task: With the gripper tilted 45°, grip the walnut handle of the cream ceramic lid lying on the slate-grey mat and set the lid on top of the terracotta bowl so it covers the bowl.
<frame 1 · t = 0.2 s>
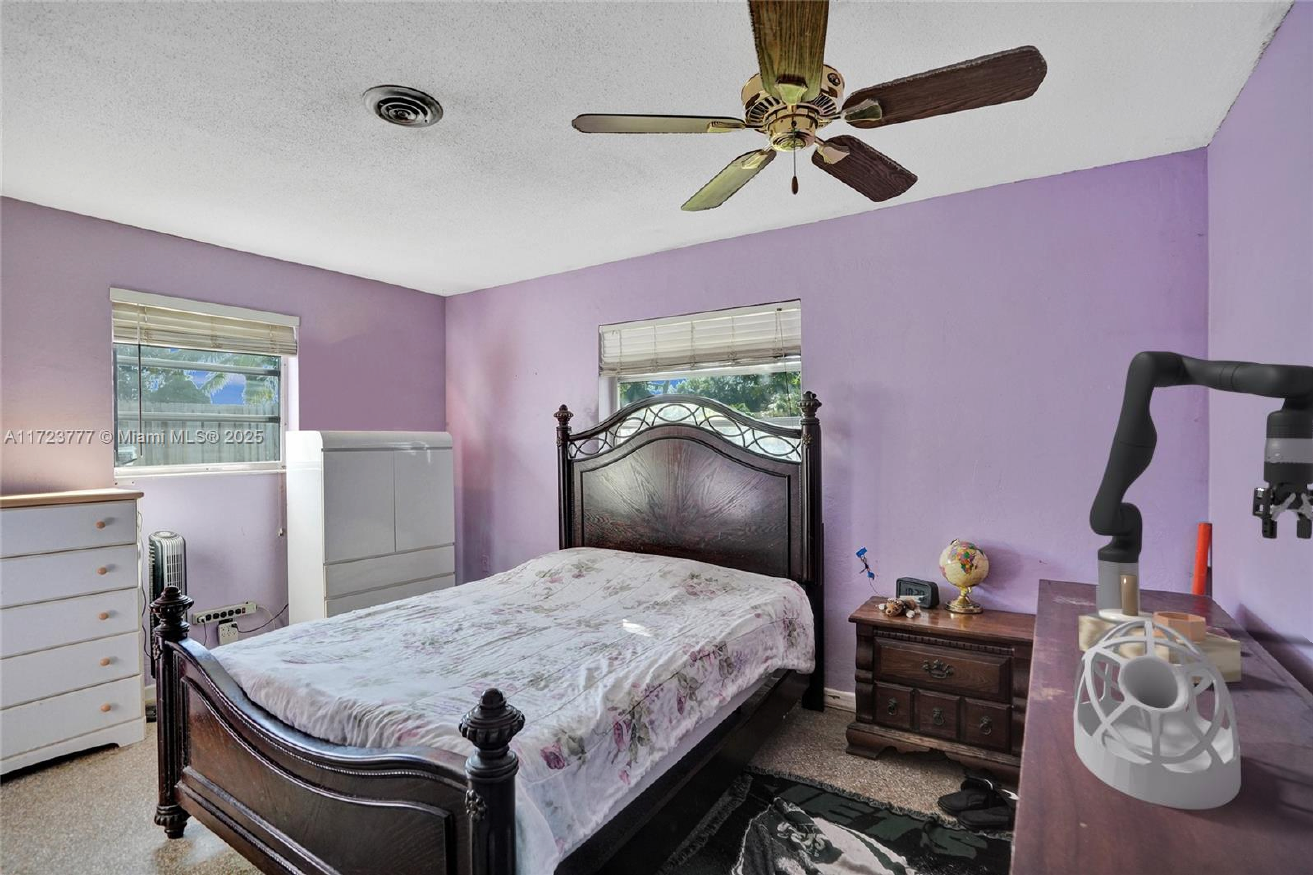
hand: (1286, 538, 135), 29 cm above the dresser, fingers open, 8 cm apart
lid: (1130, 619, 149), point 8 cm above the dresser, touching mat
mat: (1130, 620, 149), resting on riser
lampshade: (1153, 767, 95), on the dresser
bowl: (1179, 635, 136), resting on riser
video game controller: (1210, 653, 151), on the dresser
riser: (1154, 664, 142), on the dresser
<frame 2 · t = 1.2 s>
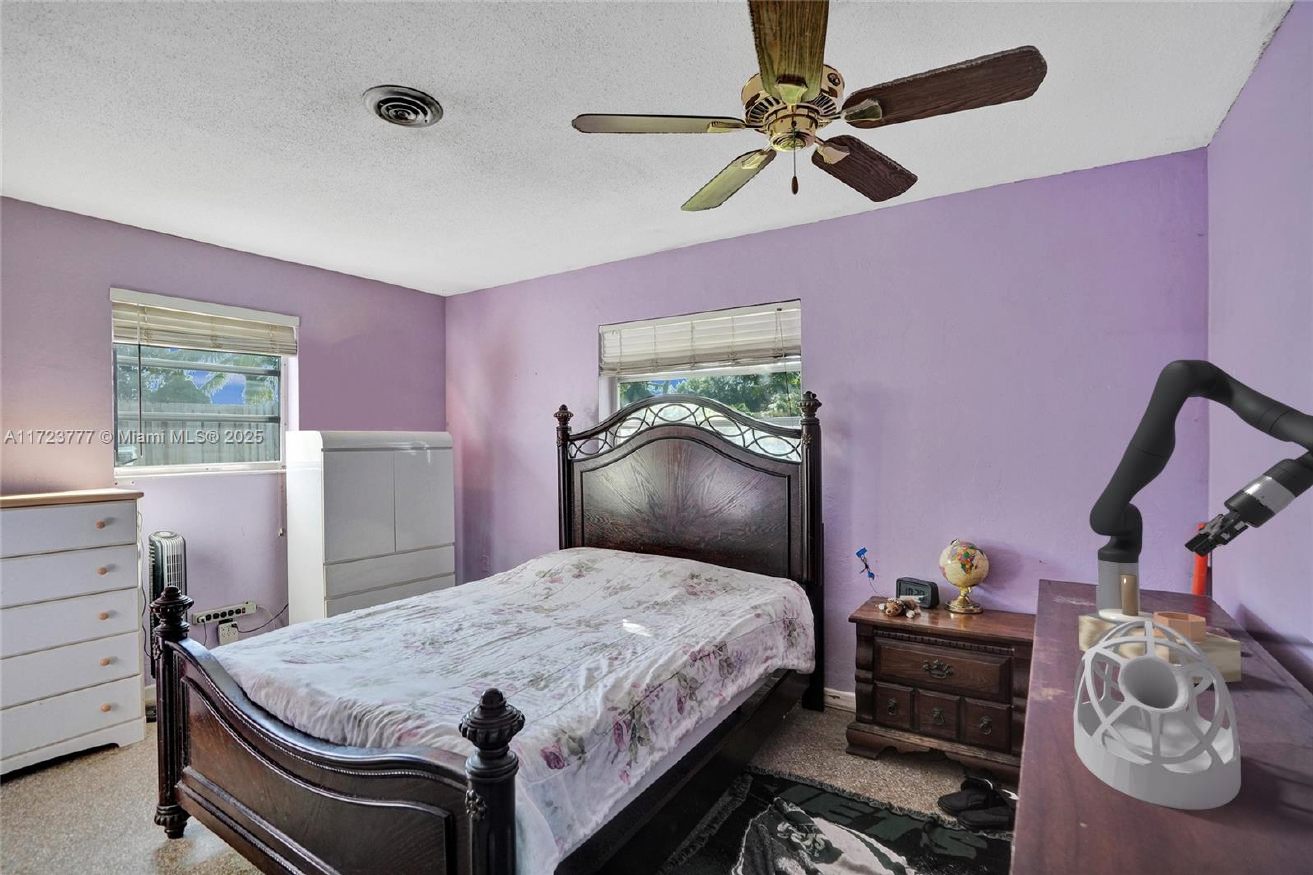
hand: (1192, 551, 144), 25 cm above the dresser, fingers open, 8 cm apart
nothing on the dresser moved.
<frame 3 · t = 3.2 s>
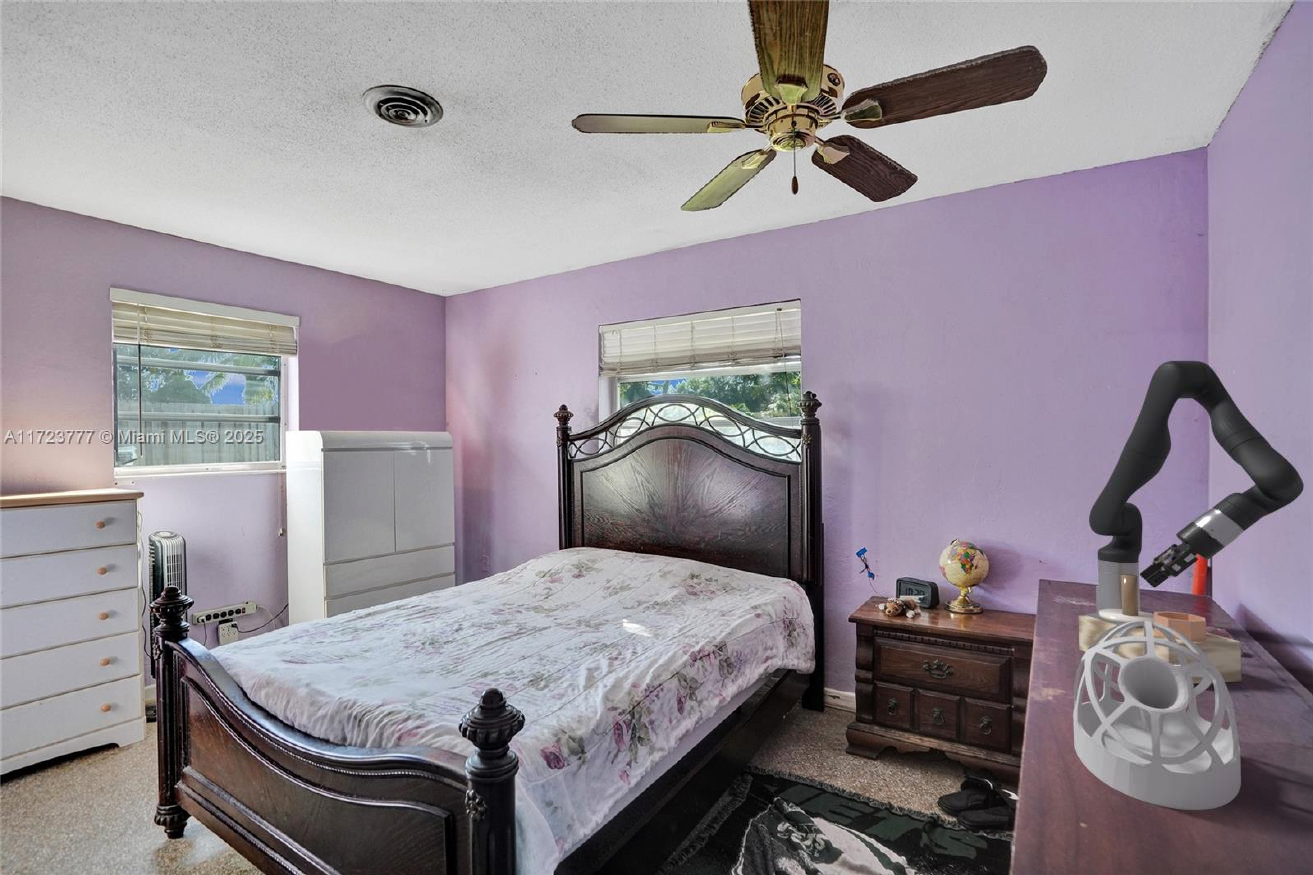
hand: (1146, 581, 147), 17 cm above the dresser, fingers open, 8 cm apart
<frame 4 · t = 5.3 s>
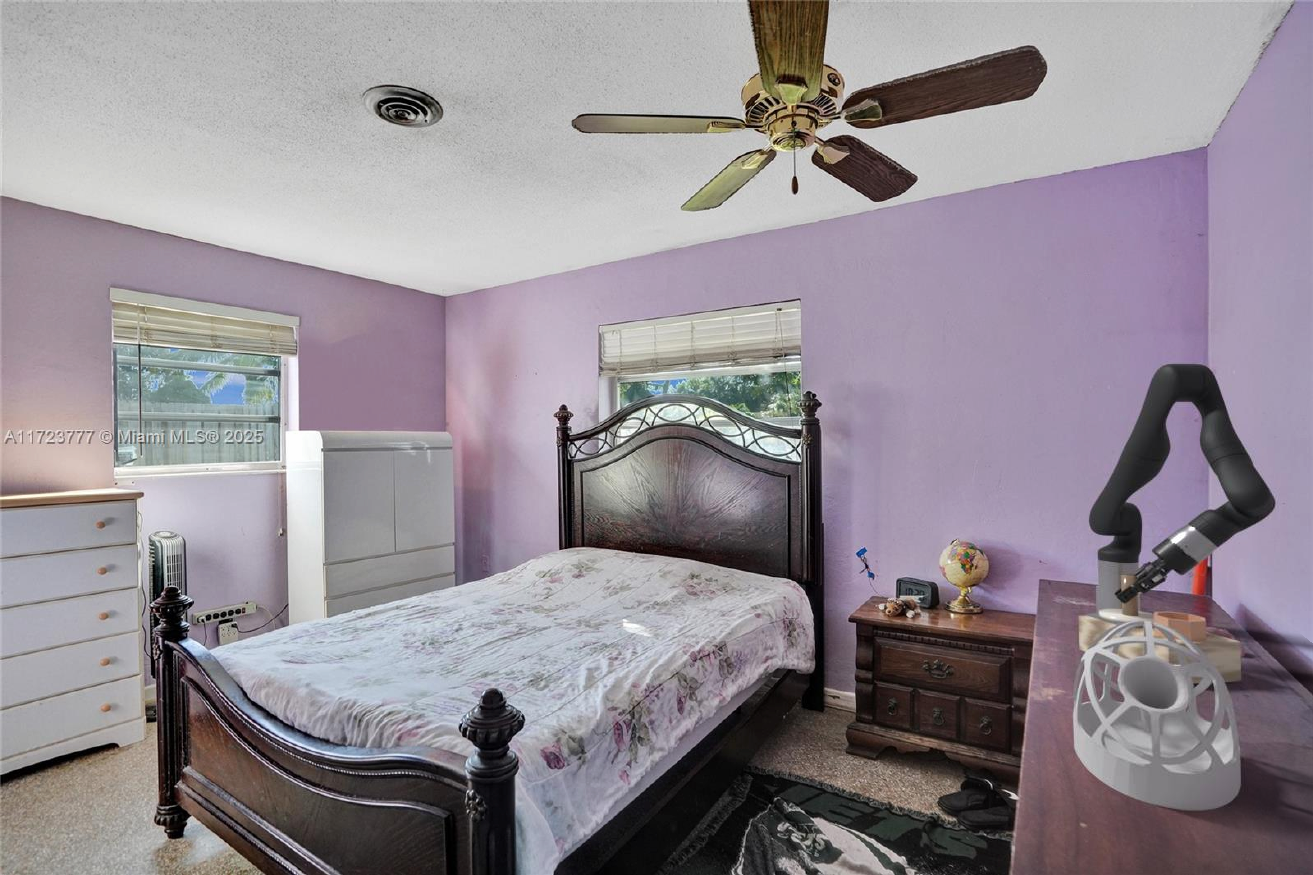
hand: (1119, 598, 150), 13 cm above the dresser, fingers closed on lid, 3 cm apart
lid: (1130, 619, 149), point 8 cm above the dresser, touching gripper, mat
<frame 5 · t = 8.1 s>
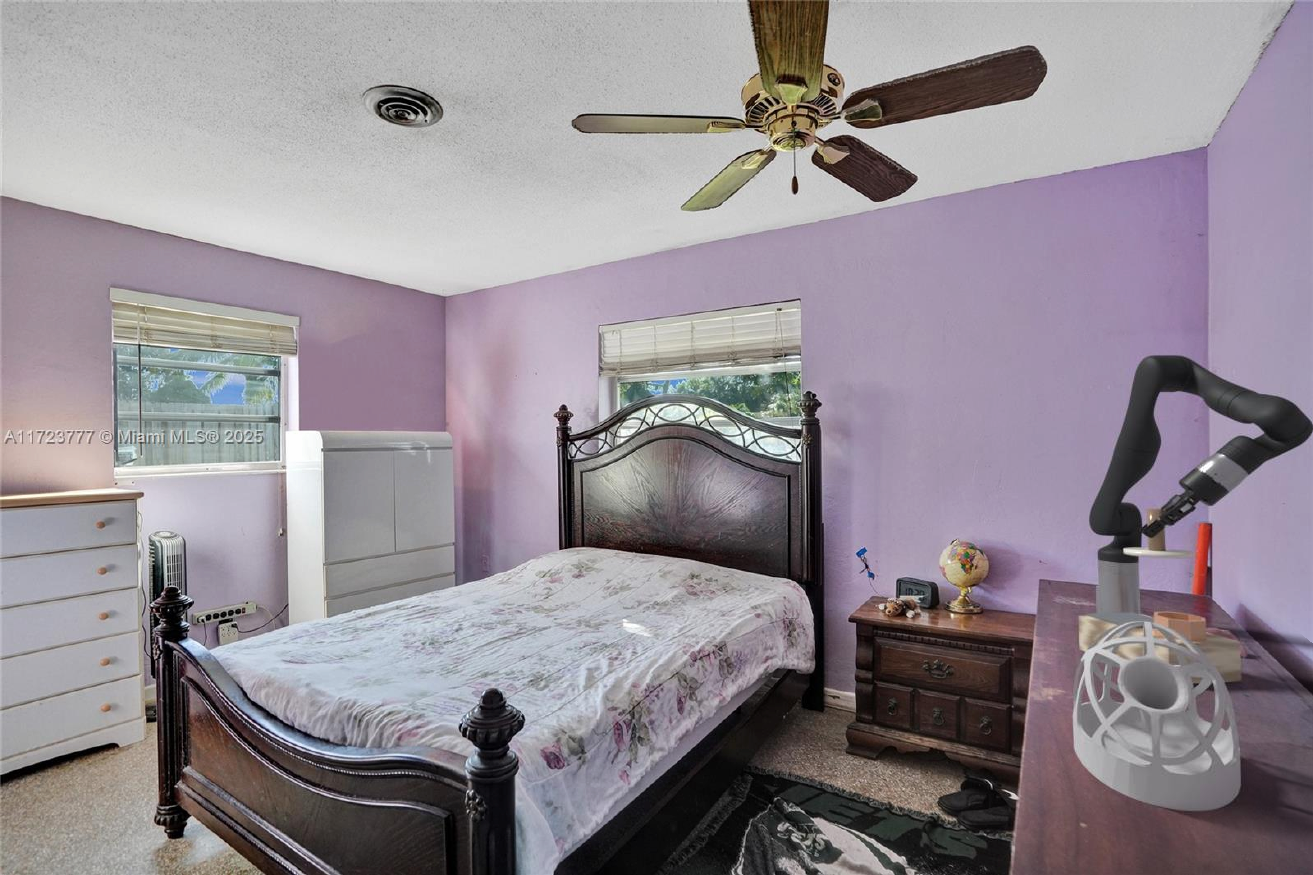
hand: (1145, 534, 143), 29 cm above the dresser, fingers closed on lid, 3 cm apart
lid: (1157, 555, 142), point 24 cm above the dresser, touching gripper
when the fingers open (18 cm above the dresser, at t = 11.2 s): lid drops 1 cm, resting on bowl.
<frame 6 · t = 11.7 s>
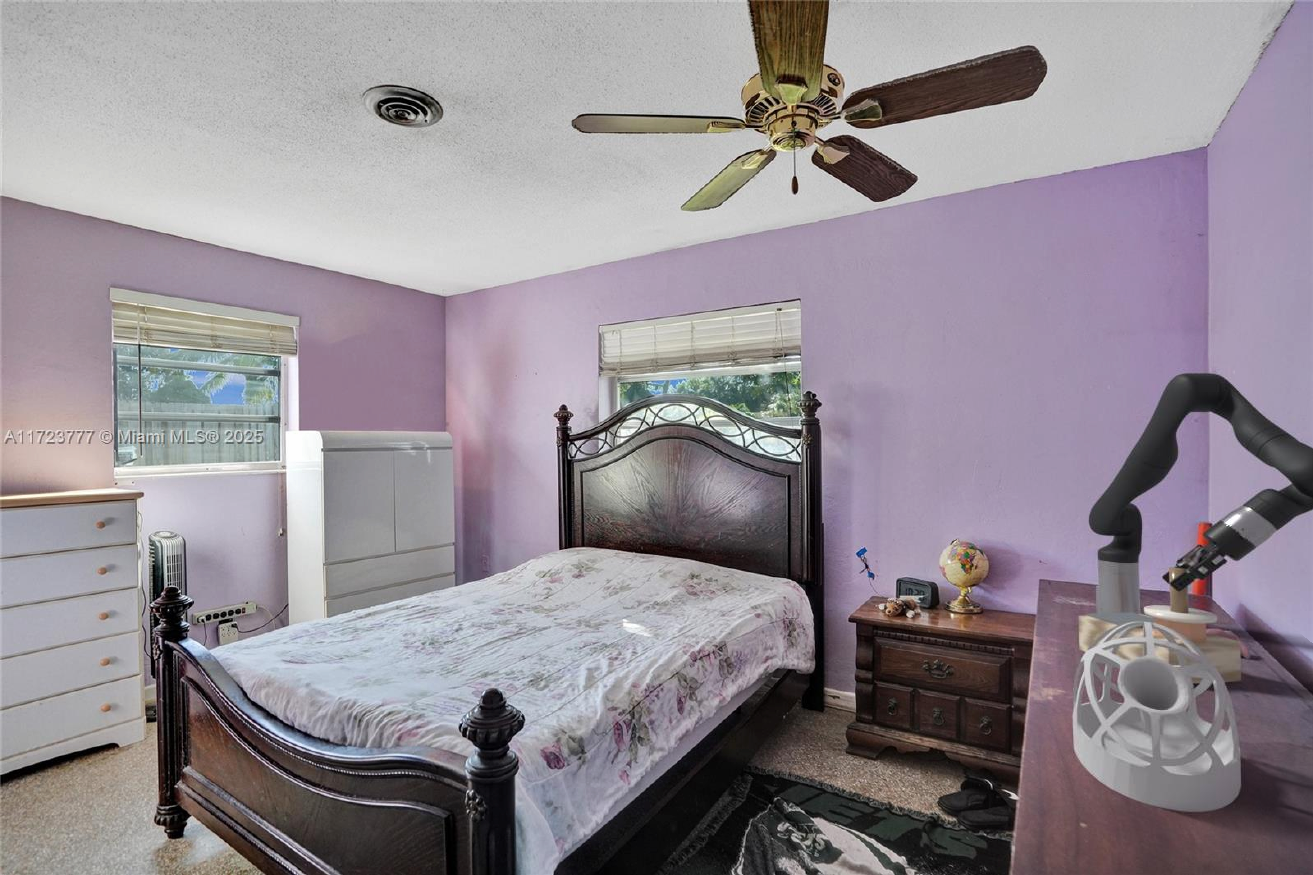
hand: (1169, 584, 137), 19 cm above the dresser, fingers open, 7 cm apart
lid: (1179, 616, 136), point 12 cm above the dresser, touching bowl
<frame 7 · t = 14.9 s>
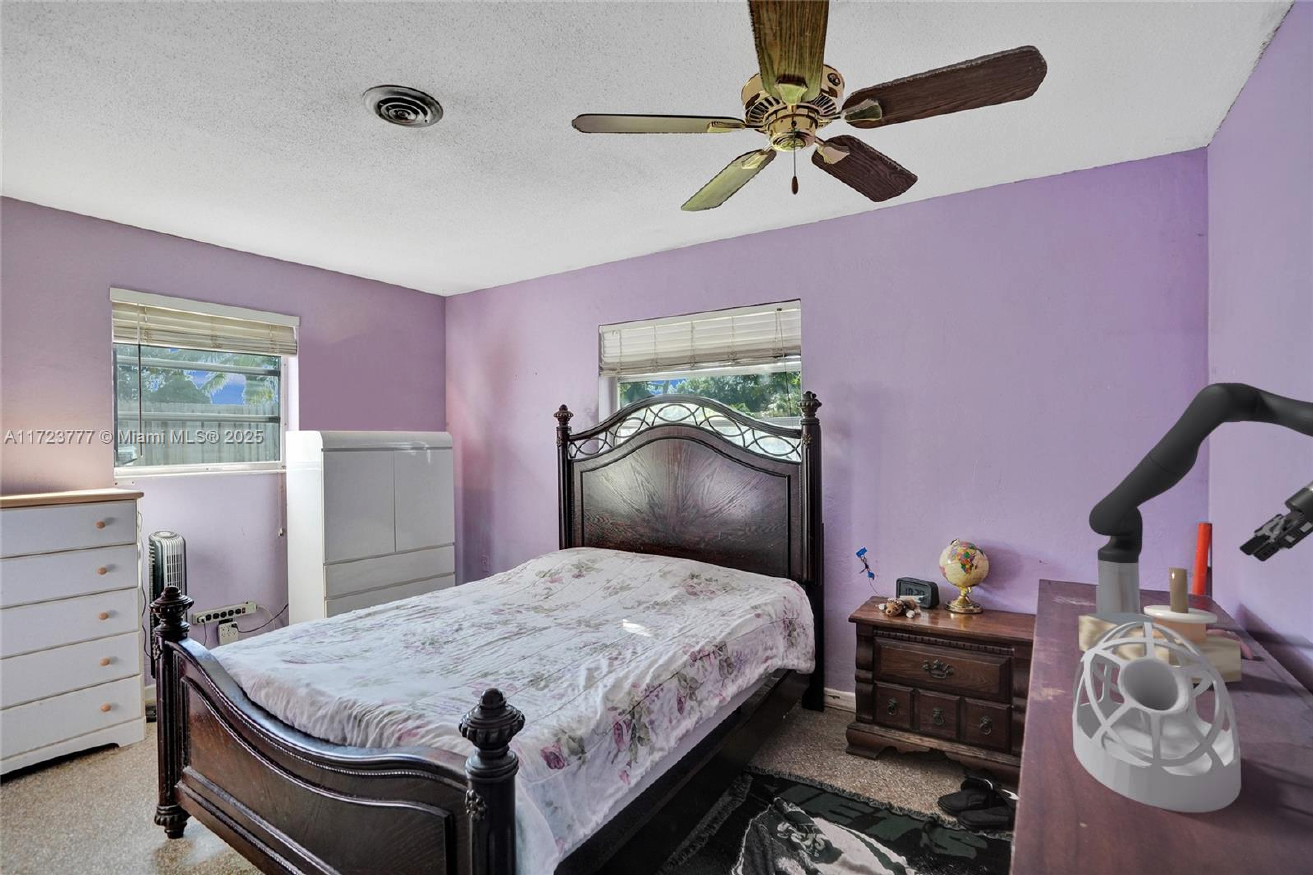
hand: (1250, 555, 131), 26 cm above the dresser, fingers open, 8 cm apart
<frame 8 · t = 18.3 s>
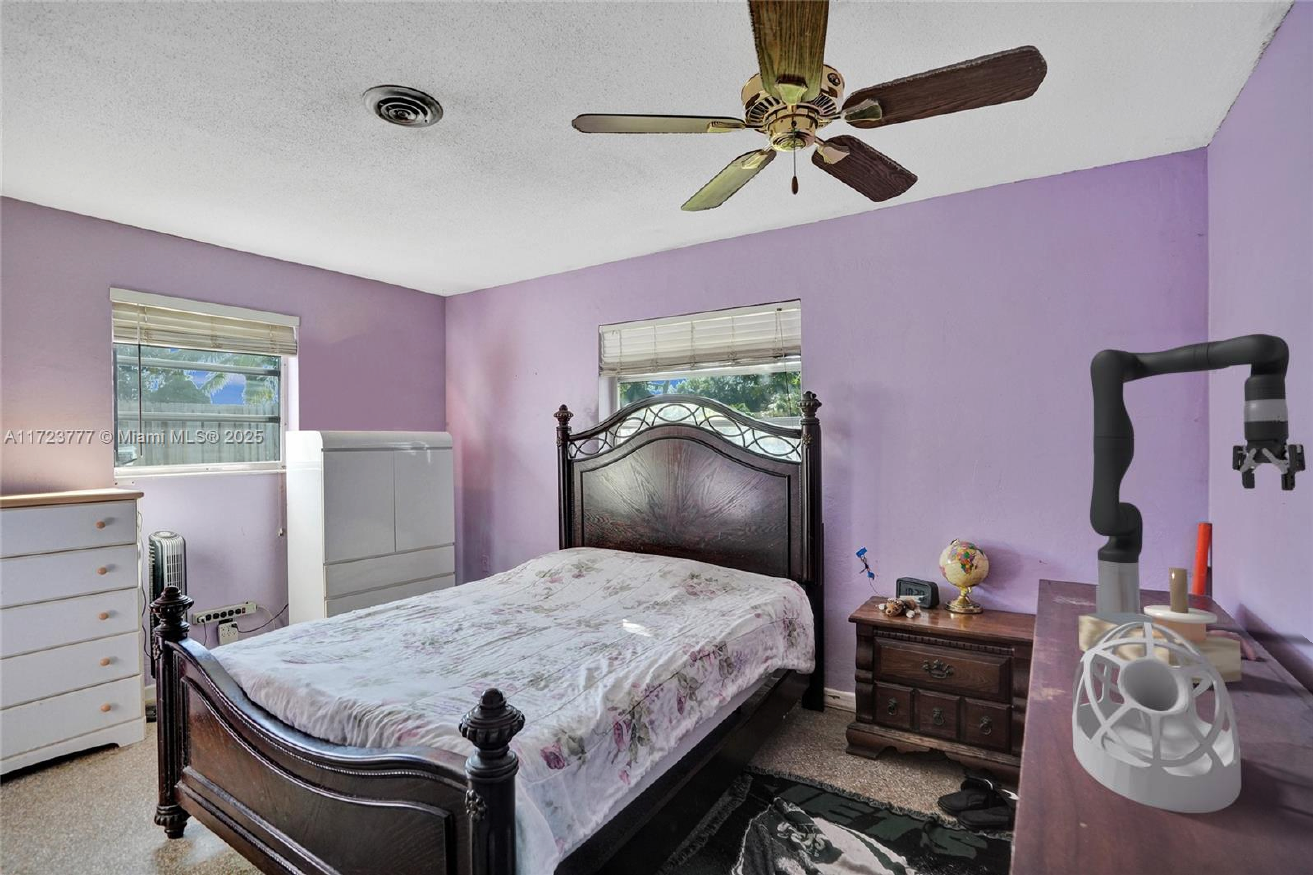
hand: (1268, 489, 150), 38 cm above the dresser, fingers open, 8 cm apart
at the end: lid 0.1 cm off-centre on the bowl, point 4.0 cm above the bowl's base; lid tilted 0°; the gripper is holding nothing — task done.
